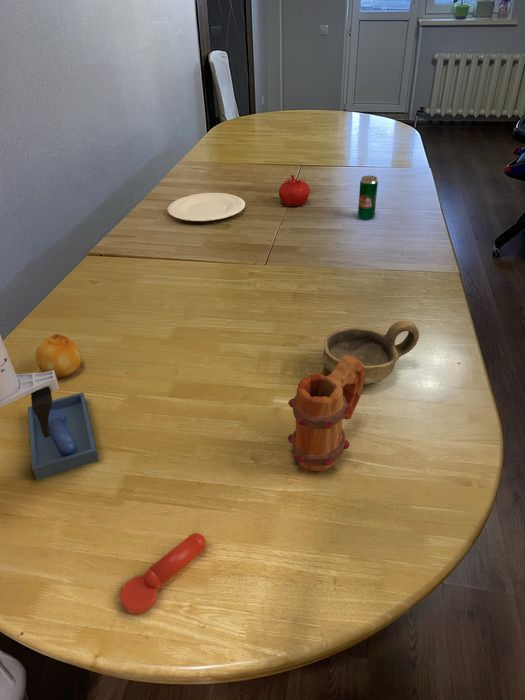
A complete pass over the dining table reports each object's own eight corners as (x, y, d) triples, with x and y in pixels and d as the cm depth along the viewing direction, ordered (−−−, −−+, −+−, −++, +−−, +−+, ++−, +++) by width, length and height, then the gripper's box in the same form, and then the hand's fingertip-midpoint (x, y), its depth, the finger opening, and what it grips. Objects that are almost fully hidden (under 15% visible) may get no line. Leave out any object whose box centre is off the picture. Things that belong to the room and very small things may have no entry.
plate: (233, 228, 154) (233, 222, 153) (155, 223, 159) (154, 217, 158) (254, 199, 174) (253, 194, 173) (184, 196, 179) (183, 190, 178)
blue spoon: (85, 452, 81) (81, 440, 80) (59, 464, 79) (54, 452, 78) (62, 410, 89) (58, 399, 88) (37, 420, 88) (33, 409, 86)
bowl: (313, 353, 101) (314, 310, 95) (401, 345, 102) (407, 302, 96) (328, 399, 90) (330, 353, 84) (426, 390, 91) (435, 343, 85)
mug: (318, 489, 74) (322, 411, 65) (277, 461, 79) (275, 384, 70) (376, 435, 83) (386, 359, 74) (335, 412, 87) (340, 338, 79)
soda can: (354, 218, 157) (357, 178, 150) (362, 213, 160) (365, 174, 153) (369, 221, 154) (373, 181, 147) (377, 216, 158) (381, 176, 151)
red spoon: (194, 533, 69) (192, 521, 67) (215, 553, 67) (213, 541, 65) (115, 597, 62) (111, 585, 61) (135, 622, 60) (130, 610, 58)
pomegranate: (312, 207, 166) (312, 178, 160) (281, 210, 165) (281, 180, 159) (306, 197, 174) (306, 169, 168) (276, 199, 173) (276, 171, 167)
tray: (98, 460, 80) (95, 450, 79) (36, 479, 78) (32, 469, 76) (86, 401, 92) (83, 391, 90) (31, 416, 89) (27, 406, 88)
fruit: (97, 354, 100) (68, 322, 96) (70, 382, 94) (39, 349, 91) (74, 363, 105) (46, 333, 101) (47, 390, 99) (17, 359, 96)
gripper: (43, 331, 69) (68, 408, 77) (-79, 359, 64) (-39, 437, 72) (47, 359, 63) (74, 439, 71) (-86, 392, 59) (-42, 473, 67)
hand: (17, 440), depth 71 cm, fingers open, 7 cm apart
